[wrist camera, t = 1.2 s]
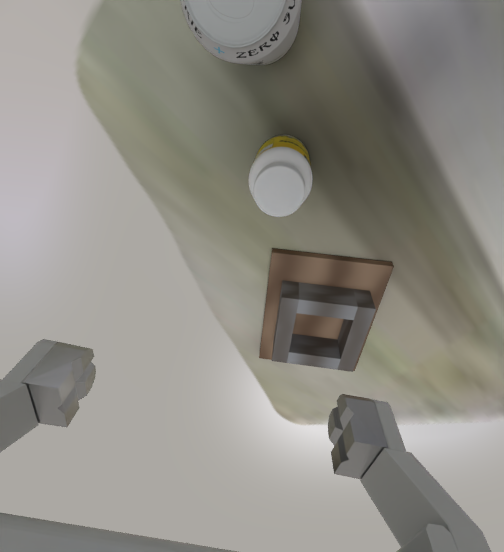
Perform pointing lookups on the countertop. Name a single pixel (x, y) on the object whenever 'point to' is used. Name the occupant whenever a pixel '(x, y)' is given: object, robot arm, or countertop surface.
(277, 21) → the energy drink can
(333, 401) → the countertop surface
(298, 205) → the supplement bottle
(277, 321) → the socket block
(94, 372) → the robot arm
